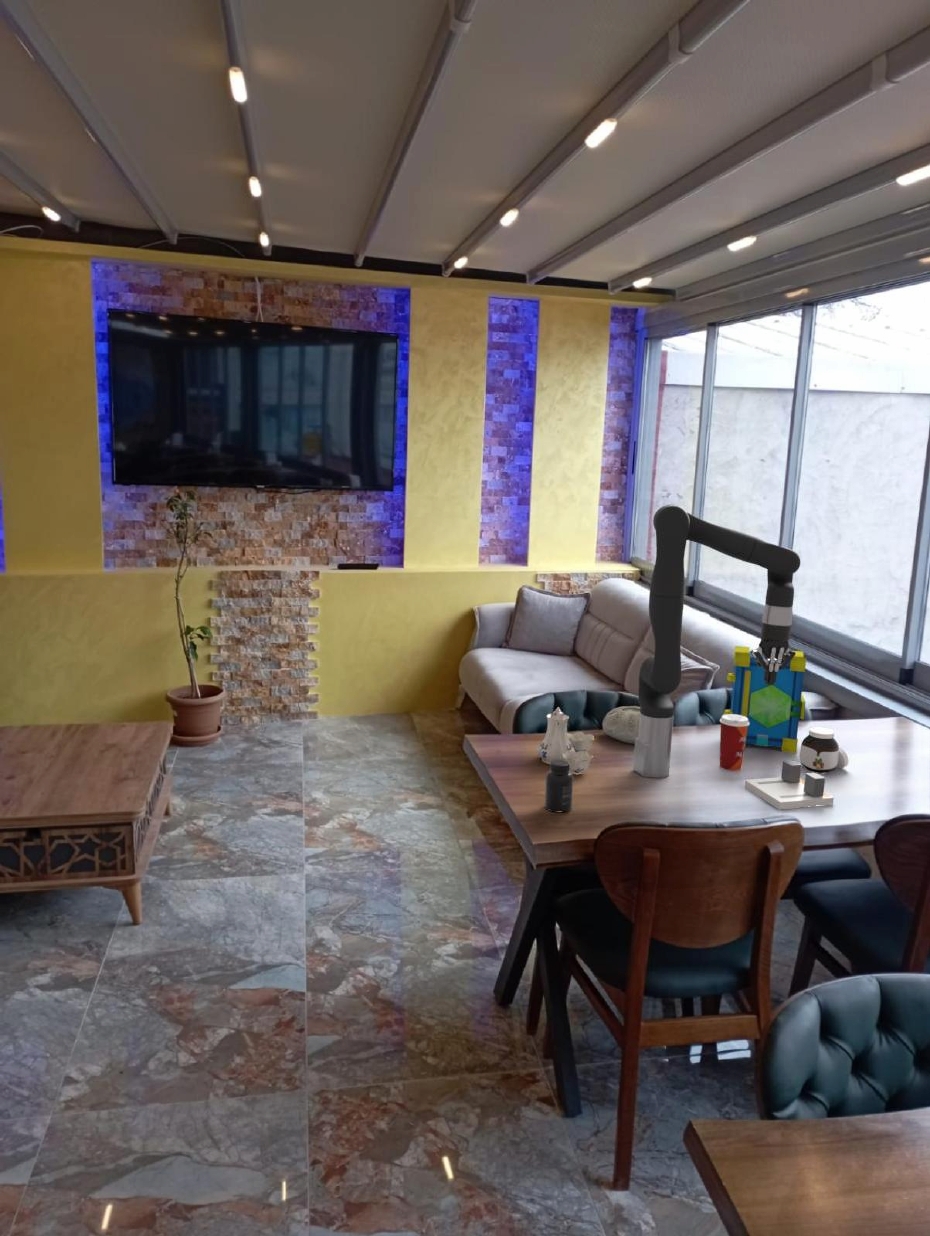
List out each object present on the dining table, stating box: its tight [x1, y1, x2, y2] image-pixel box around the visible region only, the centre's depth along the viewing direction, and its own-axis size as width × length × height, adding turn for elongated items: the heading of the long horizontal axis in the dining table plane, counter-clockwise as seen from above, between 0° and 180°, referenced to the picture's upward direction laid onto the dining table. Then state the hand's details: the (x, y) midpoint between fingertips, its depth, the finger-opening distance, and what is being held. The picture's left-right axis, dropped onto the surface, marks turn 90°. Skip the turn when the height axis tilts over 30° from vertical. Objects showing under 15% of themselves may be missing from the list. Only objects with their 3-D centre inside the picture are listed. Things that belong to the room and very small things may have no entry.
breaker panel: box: [744, 776, 835, 811], centre depth 236 cm, size 16×16×2 cm
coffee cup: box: [719, 714, 749, 772], centre depth 256 cm, size 8×8×15 cm
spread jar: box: [799, 726, 849, 774], centre depth 258 cm, size 12×11×12 cm
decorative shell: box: [601, 705, 640, 745], centre depth 279 cm, size 18×18×10 cm
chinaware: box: [536, 706, 595, 775], centre depth 256 cm, size 28×17×17 cm, turn 175°
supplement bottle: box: [544, 760, 574, 812], centre depth 222 cm, size 7×7×12 cm
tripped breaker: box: [780, 759, 802, 783], centre depth 242 cm, size 3×4×5 cm
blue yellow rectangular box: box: [723, 645, 807, 754], centre depth 277 cm, size 14×23×30 cm, turn 75°
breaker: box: [804, 772, 826, 797], centre depth 232 cm, size 3×4×5 cm
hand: (769, 684), depth 242 cm, fingers closed
